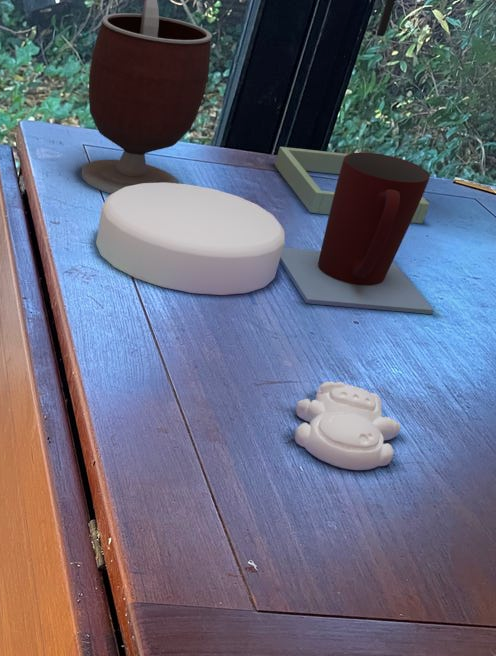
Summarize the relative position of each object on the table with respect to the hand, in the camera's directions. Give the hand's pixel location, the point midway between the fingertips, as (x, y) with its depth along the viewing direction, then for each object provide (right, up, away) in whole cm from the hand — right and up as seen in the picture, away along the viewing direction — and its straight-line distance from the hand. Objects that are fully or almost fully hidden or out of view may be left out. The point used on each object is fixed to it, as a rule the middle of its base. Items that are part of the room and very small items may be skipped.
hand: (441, 44), depth 112 cm
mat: (-11, -28, -3) cm, 30 cm away
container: (-29, -25, -3) cm, 39 cm away
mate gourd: (-34, -9, +14) cm, 38 cm away
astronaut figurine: (-20, -50, -28) cm, 61 cm away
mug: (-11, -28, -3) cm, 30 cm away
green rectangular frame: (-4, -8, +20) cm, 22 cm away
